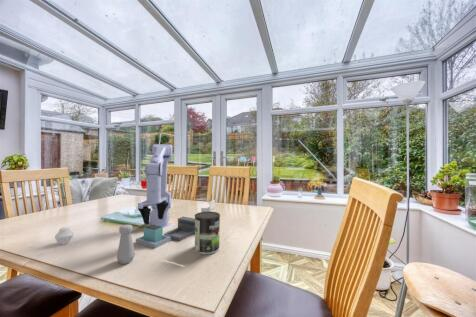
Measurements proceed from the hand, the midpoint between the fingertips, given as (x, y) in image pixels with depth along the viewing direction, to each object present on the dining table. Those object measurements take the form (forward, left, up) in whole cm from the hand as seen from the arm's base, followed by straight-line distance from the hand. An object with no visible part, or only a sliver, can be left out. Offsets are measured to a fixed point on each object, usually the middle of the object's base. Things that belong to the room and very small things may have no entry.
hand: (153, 221), depth 91 cm
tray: (0, 0, -9) cm, 9 cm away
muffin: (-33, -18, -10) cm, 39 cm away
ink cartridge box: (+11, +26, -10) cm, 30 cm away
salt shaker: (+4, -16, -10) cm, 19 cm away
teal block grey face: (0, 0, -9) cm, 9 cm away
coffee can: (+24, +6, -10) cm, 27 cm away
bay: (+5, +13, -9) cm, 17 cm away
